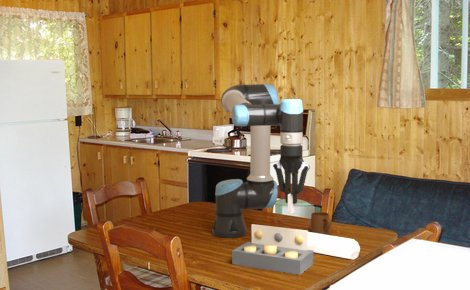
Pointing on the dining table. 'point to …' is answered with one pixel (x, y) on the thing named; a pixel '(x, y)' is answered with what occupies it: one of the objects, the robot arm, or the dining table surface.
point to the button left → (250, 248)
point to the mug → (320, 223)
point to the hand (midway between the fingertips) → (291, 212)
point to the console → (284, 242)
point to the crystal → (333, 245)
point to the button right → (291, 254)
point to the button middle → (270, 249)
